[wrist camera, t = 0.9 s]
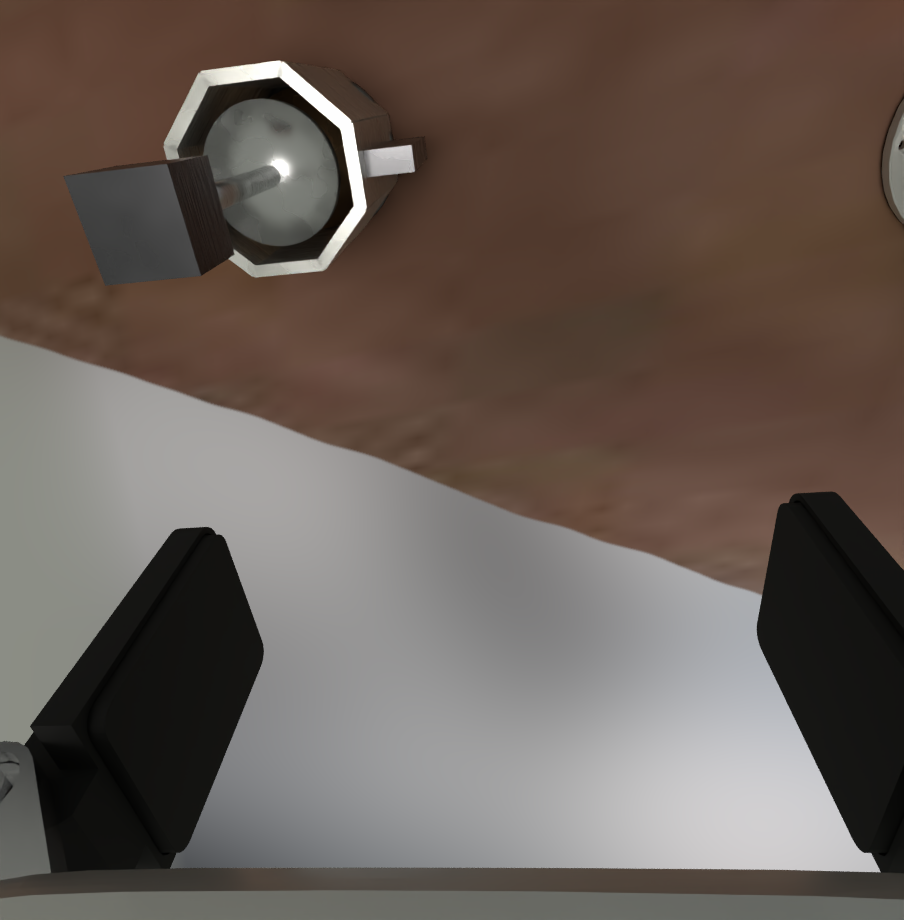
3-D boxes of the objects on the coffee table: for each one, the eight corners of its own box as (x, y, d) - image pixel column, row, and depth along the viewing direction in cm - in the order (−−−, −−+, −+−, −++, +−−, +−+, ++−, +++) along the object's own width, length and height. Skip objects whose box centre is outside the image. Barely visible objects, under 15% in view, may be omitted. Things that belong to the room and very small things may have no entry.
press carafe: (420, 56, 37) (394, 42, 27) (439, 221, 42) (422, 262, 32) (233, 81, 39) (140, 76, 28) (272, 238, 43) (203, 284, 33)
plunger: (325, 90, 29) (205, 87, 17) (351, 236, 33) (266, 323, 20) (191, 107, 30) (-18, 117, 18) (230, 248, 33) (77, 340, 21)
